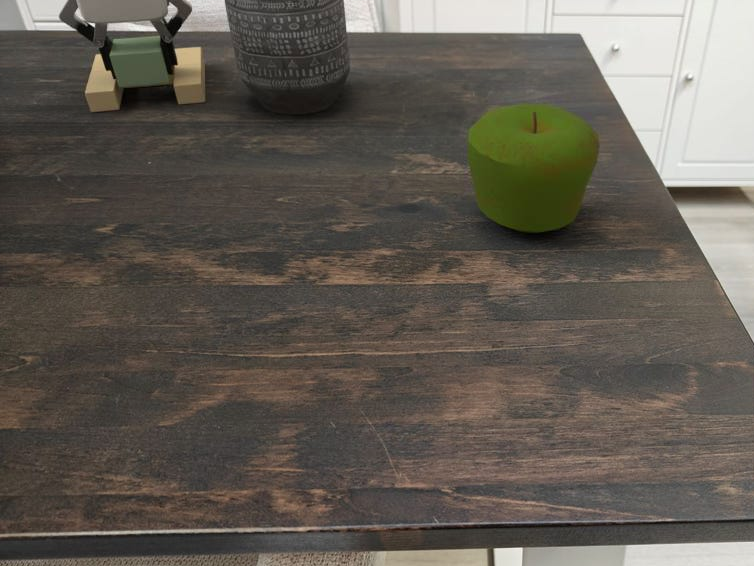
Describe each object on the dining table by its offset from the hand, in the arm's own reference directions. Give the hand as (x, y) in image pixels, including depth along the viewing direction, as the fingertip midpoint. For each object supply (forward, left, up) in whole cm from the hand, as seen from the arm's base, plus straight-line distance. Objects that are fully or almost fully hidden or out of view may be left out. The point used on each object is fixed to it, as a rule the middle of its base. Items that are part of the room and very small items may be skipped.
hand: (144, 72), depth 97 cm
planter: (+19, -6, -3) cm, 20 cm away
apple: (+39, -42, -3) cm, 57 cm away
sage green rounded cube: (0, 0, -1) cm, 1 cm away
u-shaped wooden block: (0, +3, -3) cm, 5 cm away
